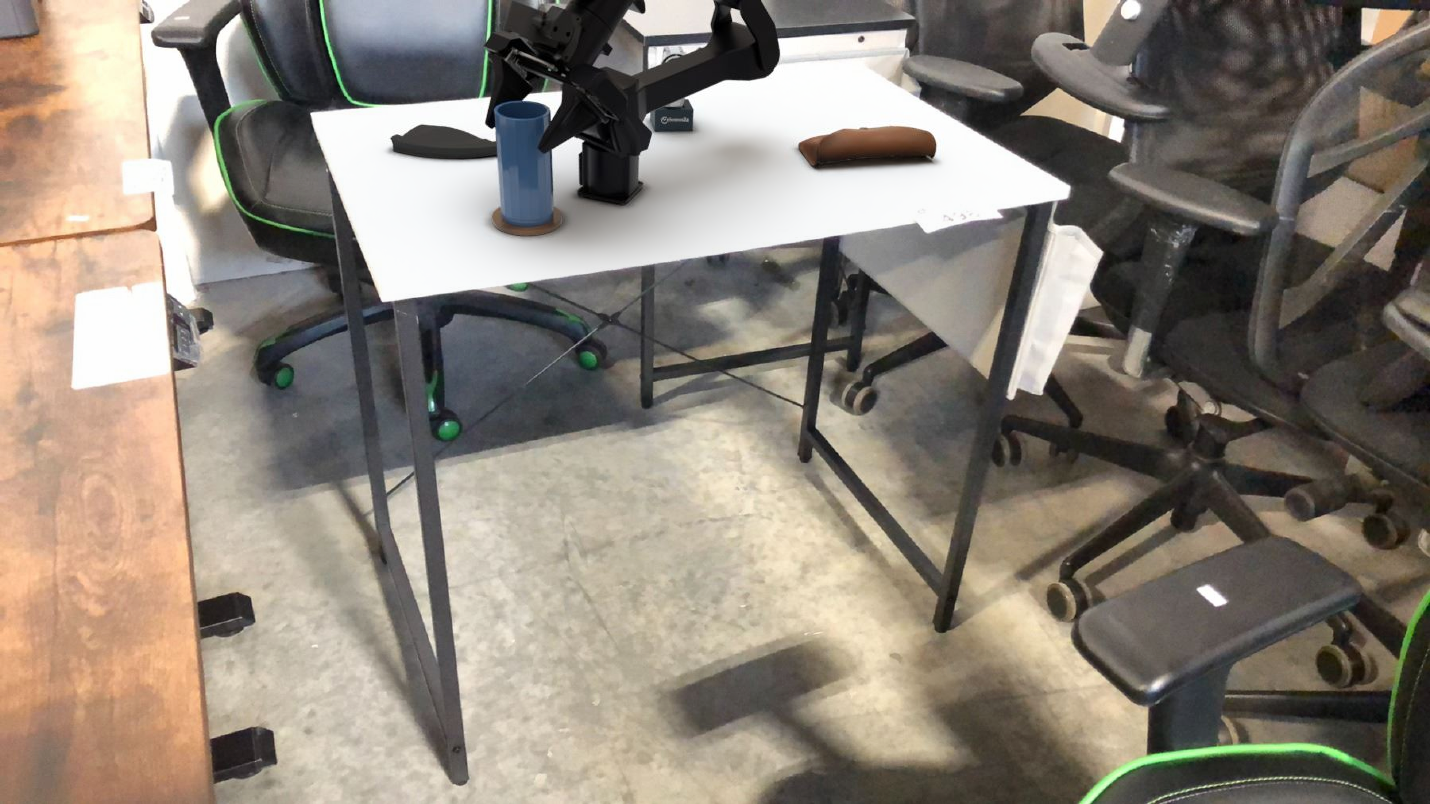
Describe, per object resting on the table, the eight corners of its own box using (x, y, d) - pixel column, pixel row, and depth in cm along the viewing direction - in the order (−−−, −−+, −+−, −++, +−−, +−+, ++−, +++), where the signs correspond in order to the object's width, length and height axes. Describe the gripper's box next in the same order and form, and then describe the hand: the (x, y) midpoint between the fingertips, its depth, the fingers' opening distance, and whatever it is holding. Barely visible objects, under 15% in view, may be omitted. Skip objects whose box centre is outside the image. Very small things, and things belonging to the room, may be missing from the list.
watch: (656, 136, 140) (659, 57, 133) (648, 116, 146) (650, 39, 140) (695, 135, 141) (699, 57, 134) (685, 115, 147) (689, 40, 141)
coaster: (573, 213, 118) (573, 208, 117) (543, 241, 111) (543, 236, 111) (512, 201, 119) (512, 196, 119) (479, 227, 113) (479, 222, 113)
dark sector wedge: (483, 169, 127) (482, 156, 126) (388, 151, 129) (387, 139, 128) (512, 146, 133) (512, 134, 132) (422, 129, 136) (420, 118, 135)
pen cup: (549, 203, 118) (546, 99, 111) (557, 225, 114) (553, 119, 106) (498, 206, 117) (491, 101, 109) (503, 228, 112) (496, 121, 105)
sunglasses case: (908, 136, 144) (926, 105, 139) (922, 176, 142) (942, 146, 136) (793, 143, 139) (807, 111, 134) (806, 184, 137) (820, 154, 131)
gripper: (492, -47, 107) (414, 73, 107) (608, -10, 98) (523, 123, 97) (551, 18, 117) (480, 129, 116) (662, 58, 107) (585, 179, 106)
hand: (513, 138), depth 109 cm, fingers open, 9 cm apart
